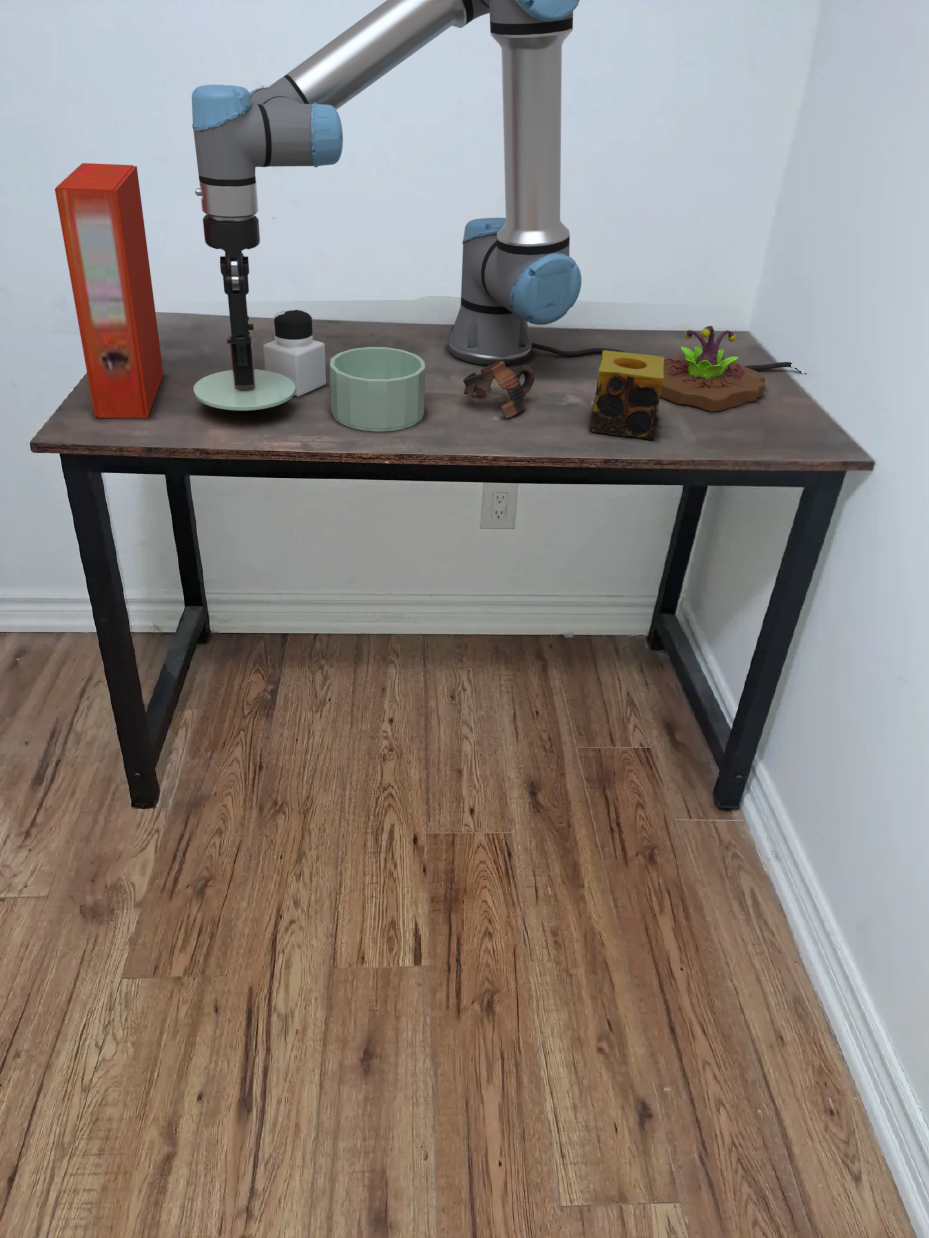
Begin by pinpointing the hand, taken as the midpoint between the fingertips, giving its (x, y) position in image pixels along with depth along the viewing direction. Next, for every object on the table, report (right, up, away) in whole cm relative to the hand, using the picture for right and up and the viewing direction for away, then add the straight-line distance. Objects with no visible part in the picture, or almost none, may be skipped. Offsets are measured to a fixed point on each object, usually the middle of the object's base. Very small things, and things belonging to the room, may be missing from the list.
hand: (244, 379), depth 142 cm
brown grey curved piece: (+39, -2, +10) cm, 40 cm away
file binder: (-19, -1, +6) cm, 20 cm away
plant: (+74, +4, +21) cm, 77 cm away
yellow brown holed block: (+59, -6, +6) cm, 59 cm away
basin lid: (0, -1, +1) cm, 2 cm away
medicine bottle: (+6, +2, +13) cm, 14 cm away
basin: (+20, -4, +5) cm, 21 cm away
